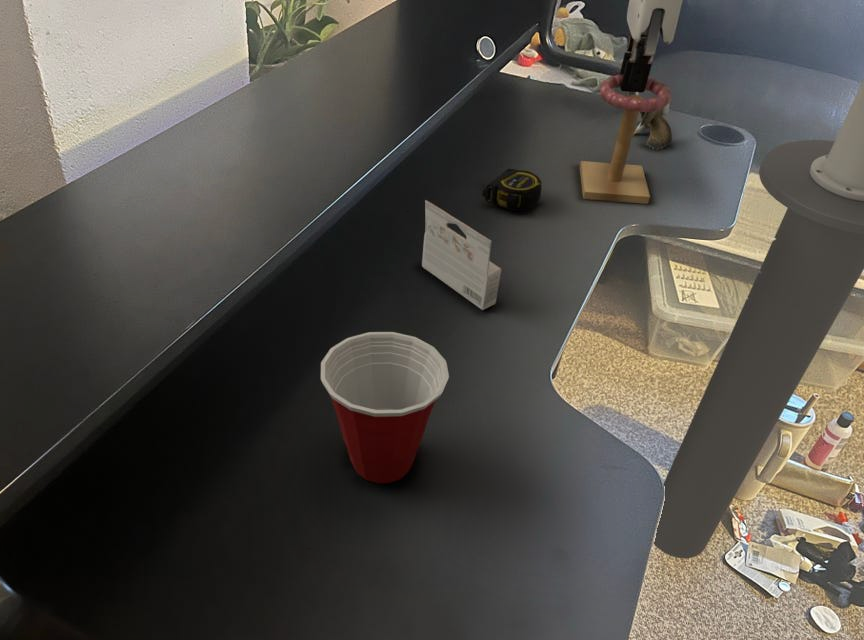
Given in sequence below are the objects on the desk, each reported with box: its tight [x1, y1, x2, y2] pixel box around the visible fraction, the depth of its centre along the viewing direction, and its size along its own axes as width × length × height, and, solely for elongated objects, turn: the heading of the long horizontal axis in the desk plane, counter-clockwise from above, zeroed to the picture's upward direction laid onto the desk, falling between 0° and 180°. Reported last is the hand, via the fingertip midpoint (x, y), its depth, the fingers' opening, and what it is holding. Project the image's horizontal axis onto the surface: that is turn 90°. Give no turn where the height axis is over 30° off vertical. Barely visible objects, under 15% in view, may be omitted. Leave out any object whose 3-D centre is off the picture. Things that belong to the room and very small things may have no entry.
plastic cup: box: [320, 331, 450, 484], centre depth 66 cm, size 11×11×12 cm
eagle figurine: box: [633, 97, 673, 151], centre depth 117 cm, size 8×7×9 cm
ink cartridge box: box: [421, 199, 502, 311], centre depth 86 cm, size 2×11×10 cm, turn 39°
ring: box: [598, 74, 673, 113], centre depth 98 cm, size 9×9×2 cm
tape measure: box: [481, 168, 543, 211], centre depth 102 cm, size 7×7×4 cm
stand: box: [579, 94, 651, 205], centre depth 103 cm, size 9×9×13 cm
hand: (631, 86), depth 101 cm, fingers closed on ring, 2 cm apart
